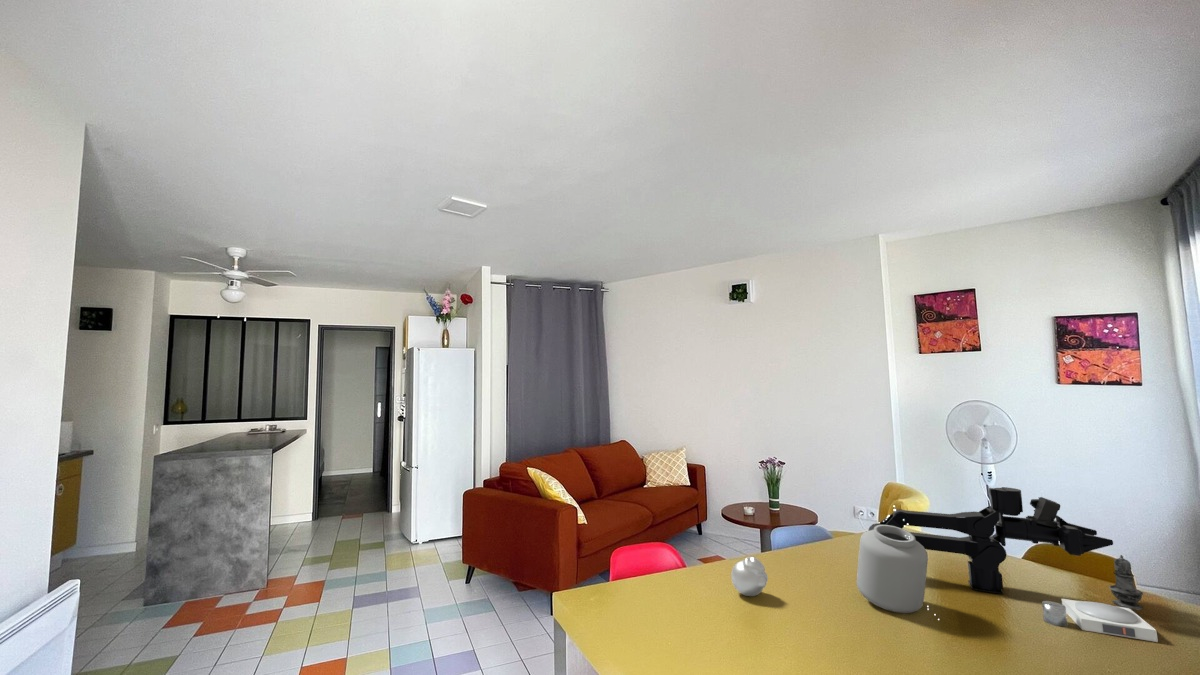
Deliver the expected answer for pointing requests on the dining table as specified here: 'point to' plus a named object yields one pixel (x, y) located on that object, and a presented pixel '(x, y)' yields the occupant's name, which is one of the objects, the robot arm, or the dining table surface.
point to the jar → (892, 569)
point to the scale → (1109, 620)
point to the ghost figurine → (749, 576)
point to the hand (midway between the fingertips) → (1104, 537)
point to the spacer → (1054, 613)
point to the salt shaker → (1125, 586)
